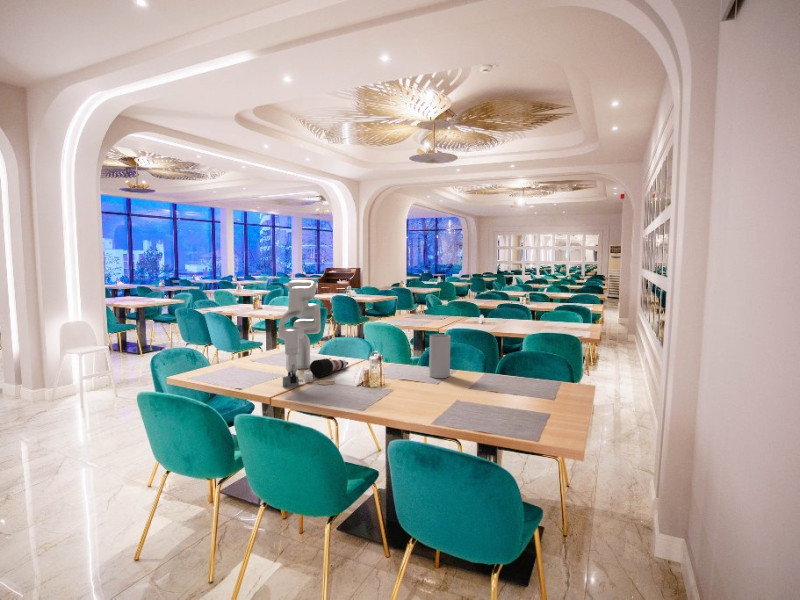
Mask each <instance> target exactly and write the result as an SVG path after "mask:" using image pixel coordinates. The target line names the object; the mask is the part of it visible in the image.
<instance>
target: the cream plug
mask: <svg viewBox="0 0 800 600" xmlns="http://www.w3.org/2000/svg"><path fill="white" fill-rule="evenodd" d="M313 379H314V376H313V373H312V372H311V371H310V369H307V370H303V382H305V383H312V382H314V380H313Z"/></svg>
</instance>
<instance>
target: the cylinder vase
mask: <svg viewBox="0 0 800 600" xmlns="http://www.w3.org/2000/svg"><path fill="white" fill-rule="evenodd" d="M428 357H429V359H428V360H429V365H428V368H429V369H428V371H429V372H428V374H429V377H430V376H431V377H430V378H433V379H447V377H448V378H450V375H451V372H450V371H451V335H449V334H445V333H444V334H442V333H434V334H430V335H429V355H428Z"/></svg>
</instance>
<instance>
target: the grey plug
mask: <svg viewBox="0 0 800 600" xmlns="http://www.w3.org/2000/svg"><path fill="white" fill-rule="evenodd" d="M302 382H304V377H299V375H297V374H296V383H292V384H291V383H290V376H288V375H284V376H282V387H286V388H287V387H288V388H289V387H297V386H300V385H299V383H302Z"/></svg>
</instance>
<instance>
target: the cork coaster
mask: <svg viewBox="0 0 800 600" xmlns="http://www.w3.org/2000/svg"><path fill="white" fill-rule="evenodd" d="M335 383H336V380H334V379H320V380H318V381H317V385H319V386H330V385H332V386H333V385H334V384H335Z"/></svg>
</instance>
